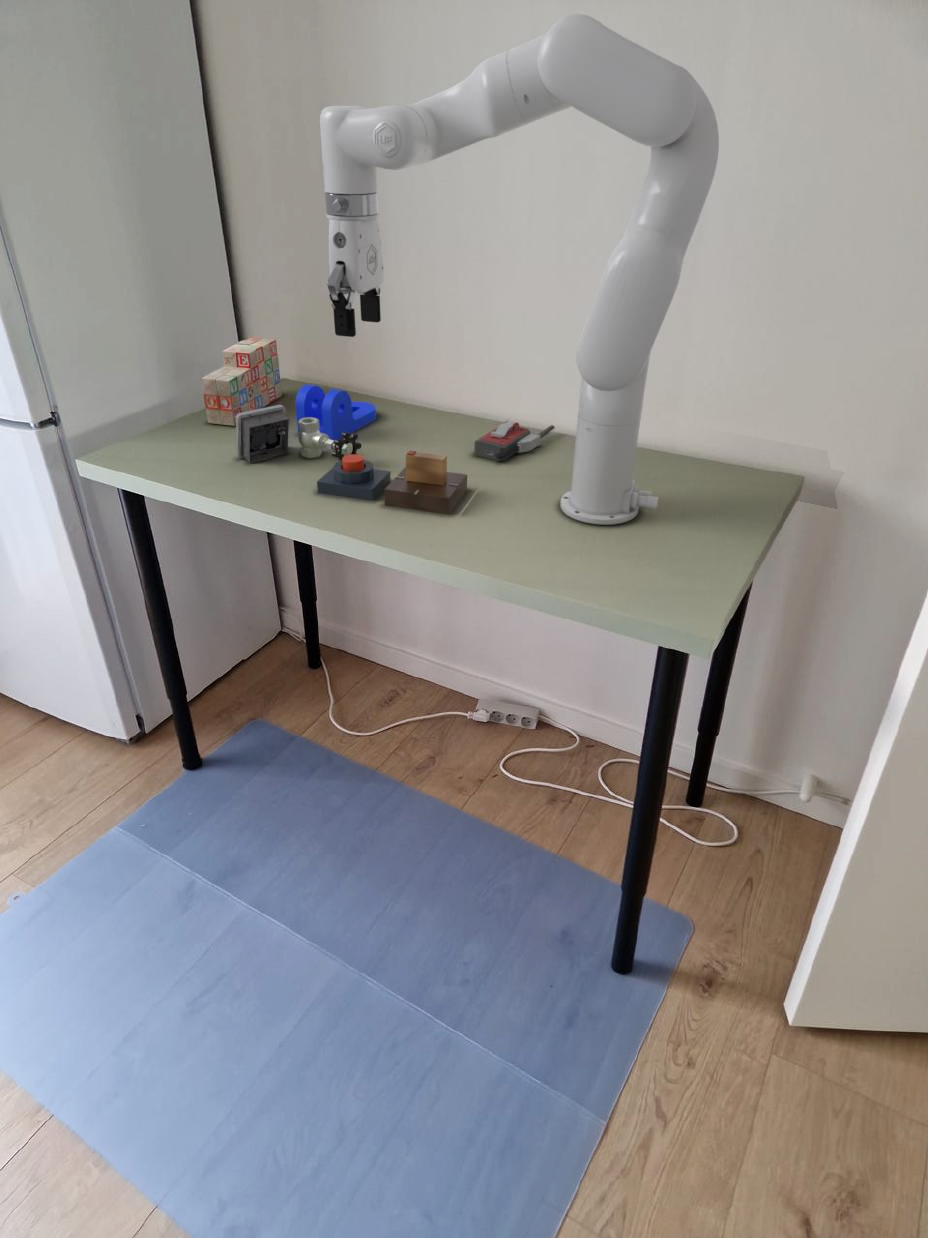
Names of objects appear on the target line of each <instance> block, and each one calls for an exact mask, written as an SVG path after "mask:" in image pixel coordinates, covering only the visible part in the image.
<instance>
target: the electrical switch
mask: <svg viewBox="0 0 928 1238" xmlns="http://www.w3.org/2000/svg"><path fill="white" fill-rule="evenodd" d="M286 409H287V408H286V407H285V406H284V405H282V404H276V405H272V406H267V407H266V406H265V407H263V408H261V409H256V410H252V411H247V412H242V413H238V414H237V415H236V425H235V436H236V437H235V438H236V439H235V441H236V455H237V457H238V458H239V459H240V460H241V459H245V460H246V461H247V462H248V463H249V464H252V463H257V462H261V461H265V460H270V459H272V458H273V457H277V456H281V455H285V454H287V455H288V453H289V426H290V419H289V417H287V415H286V411H287V410H286Z"/></svg>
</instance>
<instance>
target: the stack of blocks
mask: <svg viewBox="0 0 928 1238" xmlns="http://www.w3.org/2000/svg"><path fill="white" fill-rule="evenodd" d="M221 355H222V361H223V366H222V367H220V368H218V369H216V370H214V371H212V372H210V373H208V374H207V375H205V376H203V377H202V378H201V385H202V390H203V391H202V392H203V393H202V395H203V401H204V407H205V413H206V417H207V418H206V419H207V423H208V424H213V425H214V424H216V425H224V426H233V427H236V415H237V414H238V413H242V412H247V411H252V410H256V409H261V408H266V406H268V405H269V404H271V403H272V402H274V401H276V400H277V399H280V398H281V397H282V396H283V390H282V381H281V374H280V373H281V372H280V362H279V361H280V360H279V355H278V346H277V340H276V339H274V338H273V339H272V338H264V337H263V338H260V337H248V338H246V339H243V340H240V341H238V342H237V343H235V344H233V345H230V346H229V347H228V348H225V349H223V350H222V351H221Z"/></svg>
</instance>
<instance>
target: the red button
mask: <svg viewBox="0 0 928 1238" xmlns="http://www.w3.org/2000/svg"><path fill="white" fill-rule="evenodd" d="M356 454H357V453H356ZM356 454H352V455H351V454H348V455H347V454H345V455H344V457H343V458H342V465H343V470H345V471H359V470H362V469H364V460H365V458H364V456H362V455H361V454H358V455H356Z"/></svg>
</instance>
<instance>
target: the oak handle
mask: <svg viewBox="0 0 928 1238" xmlns="http://www.w3.org/2000/svg"><path fill="white" fill-rule="evenodd" d="M405 467H406V481H412V482H419V483H427V484H434V485H441V486H444V485H445V483H446V482H447V472H448V455H443V454H435V453H426V452H418V451H417V450H412V449H409V451H408V452H406V454H405Z"/></svg>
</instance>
